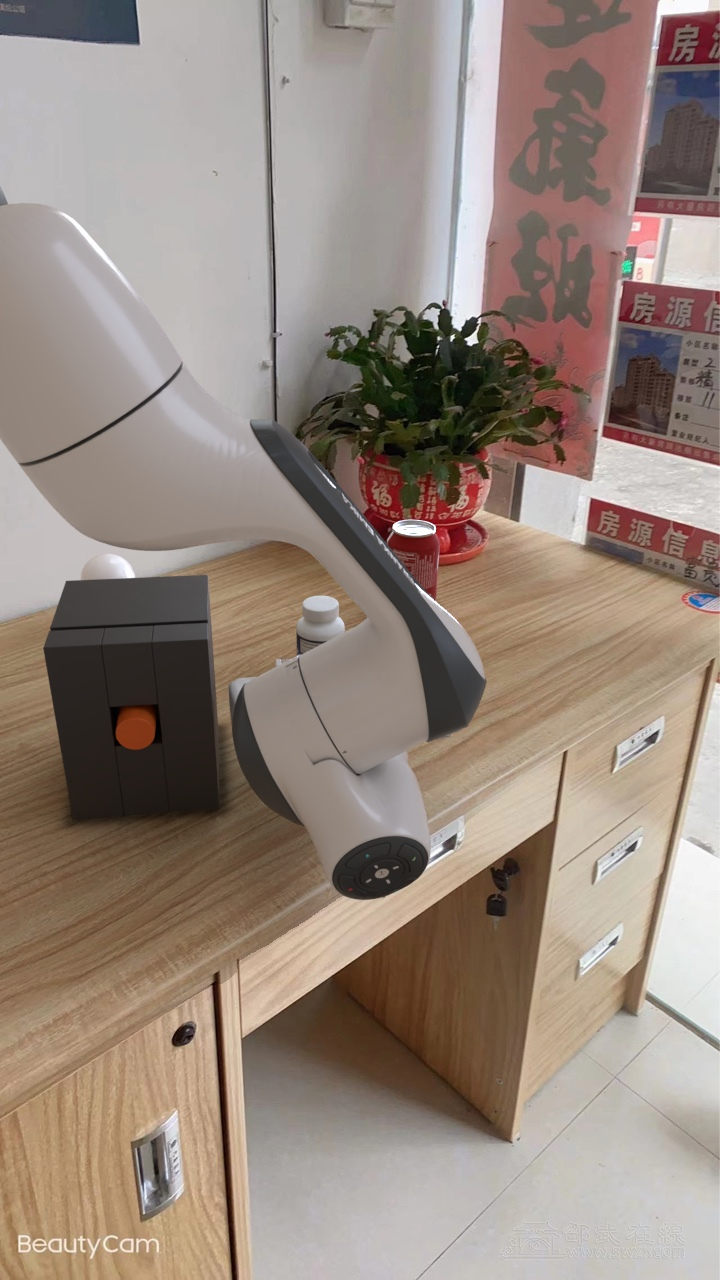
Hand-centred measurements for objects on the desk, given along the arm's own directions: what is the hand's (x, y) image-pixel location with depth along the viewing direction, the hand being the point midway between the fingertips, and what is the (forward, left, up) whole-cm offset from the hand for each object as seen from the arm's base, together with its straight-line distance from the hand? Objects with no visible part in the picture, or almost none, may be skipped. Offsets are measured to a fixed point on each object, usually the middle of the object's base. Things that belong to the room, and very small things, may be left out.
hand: (330, 662), depth 87 cm
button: (-18, -10, -1) cm, 21 cm away
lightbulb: (-24, +25, -9) cm, 36 cm away
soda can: (+14, +28, -9) cm, 33 cm away
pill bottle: (0, +11, -9) cm, 14 cm away
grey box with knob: (-18, -4, -9) cm, 21 cm away
